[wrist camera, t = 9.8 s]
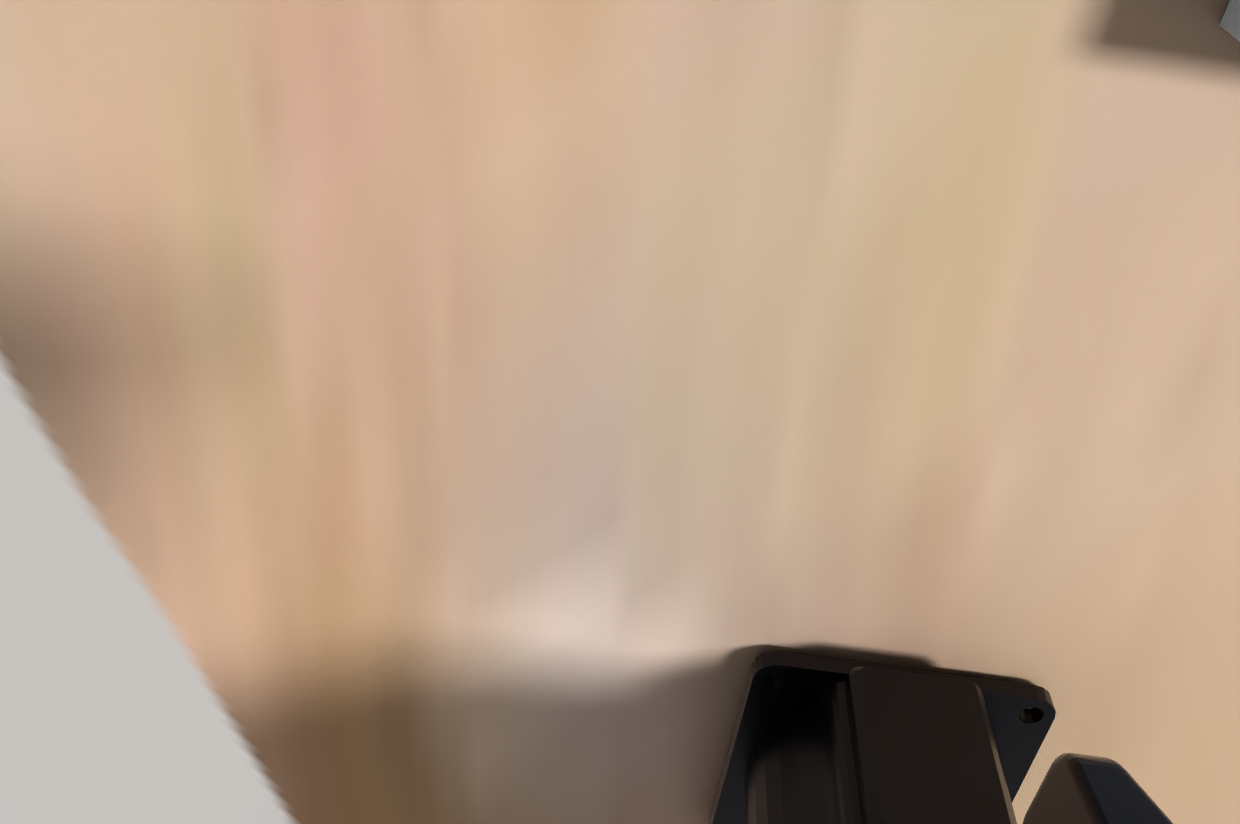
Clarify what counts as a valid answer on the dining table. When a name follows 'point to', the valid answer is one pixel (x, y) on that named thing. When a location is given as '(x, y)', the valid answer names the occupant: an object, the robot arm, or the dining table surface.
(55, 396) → the dining table surface
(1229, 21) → the stand
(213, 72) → the dining table surface
